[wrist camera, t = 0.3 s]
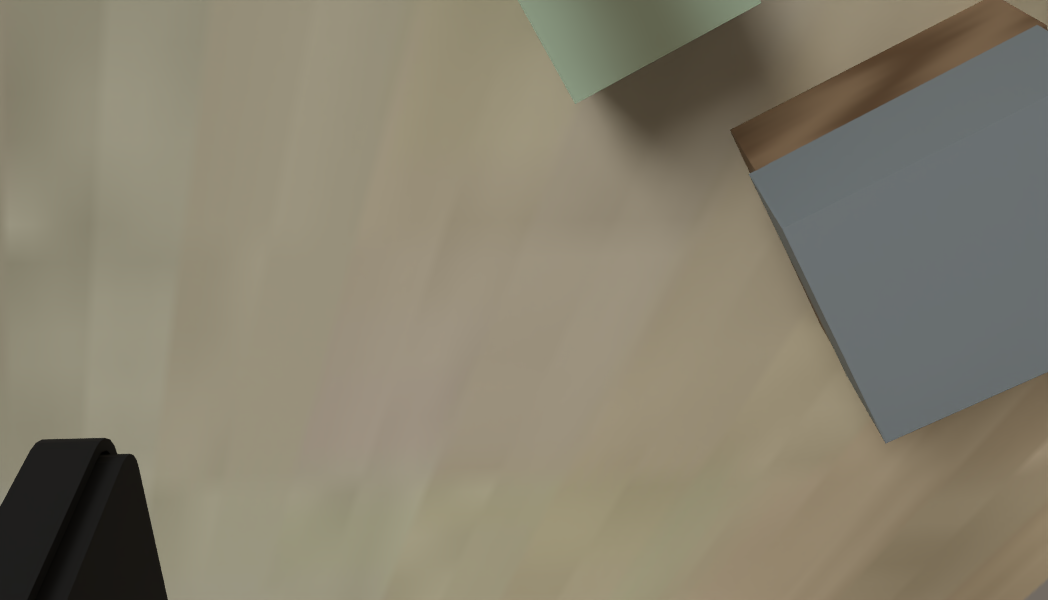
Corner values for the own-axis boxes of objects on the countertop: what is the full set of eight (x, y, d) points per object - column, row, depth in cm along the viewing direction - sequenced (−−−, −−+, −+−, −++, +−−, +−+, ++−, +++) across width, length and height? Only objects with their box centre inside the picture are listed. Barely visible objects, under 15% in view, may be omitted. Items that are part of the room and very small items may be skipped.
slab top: (1037, 24, 32) (1107, 65, 28) (1103, 259, 36) (1170, 318, 33) (748, 174, 34) (782, 228, 30) (847, 376, 39) (885, 443, 35)
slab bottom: (988, -8, 35) (1046, 24, 32) (1050, 211, 40) (1106, 260, 36) (727, 126, 37) (755, 170, 34) (817, 319, 42) (849, 375, 39)
